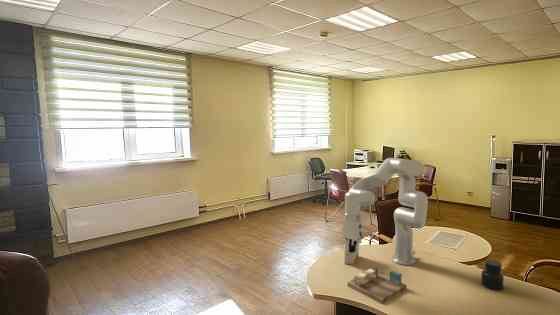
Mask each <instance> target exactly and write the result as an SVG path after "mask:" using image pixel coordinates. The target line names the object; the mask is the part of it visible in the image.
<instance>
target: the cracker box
mask: <svg viewBox="0 0 560 315" xmlns="http://www.w3.org/2000/svg"><path fill="white" fill-rule="evenodd" d="M359 247H360V246H359V244H358V243H357V244H356V250H355V252H353V253H351V252H349V244H348V242H347V240H346V239H345V238H344V264H345V265H351V266H355V264H356V262H357V259H358V257H359Z"/></svg>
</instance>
